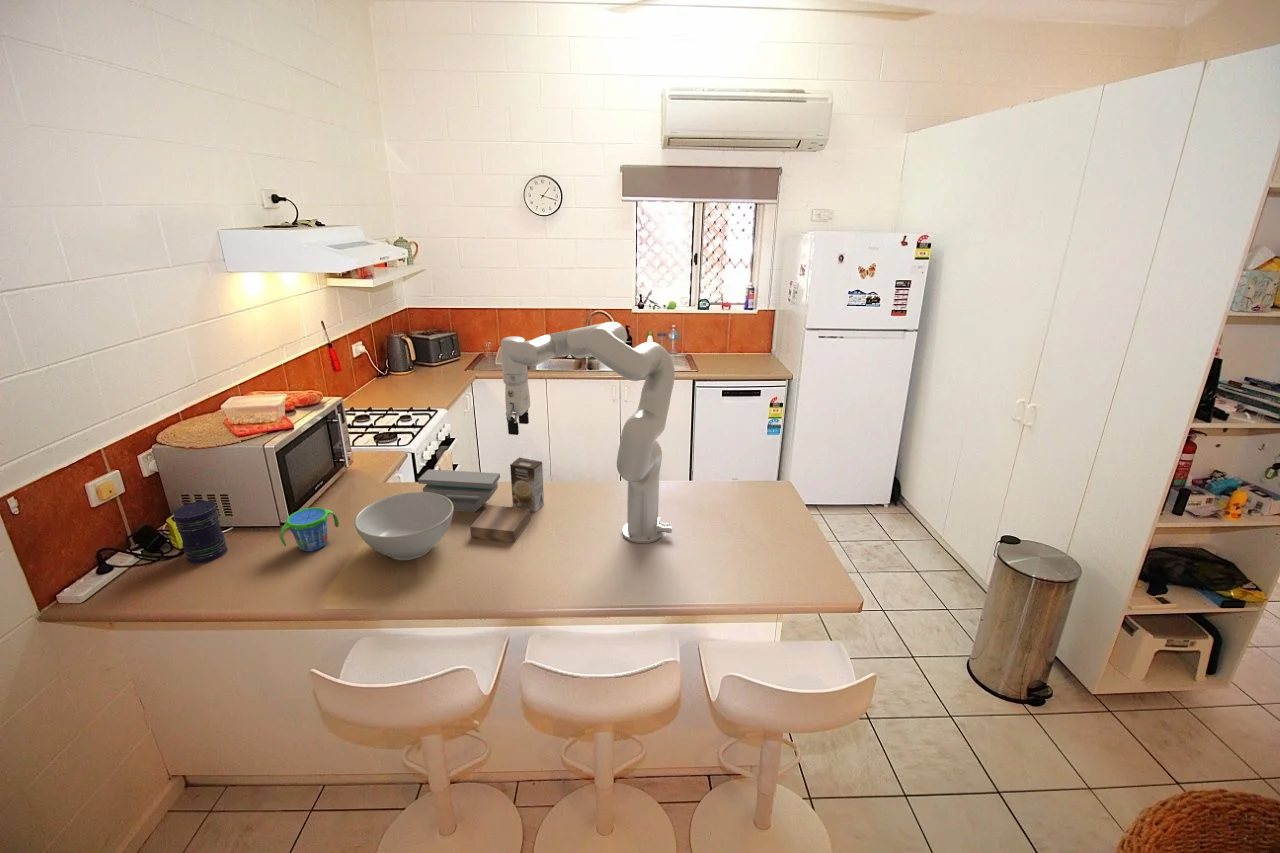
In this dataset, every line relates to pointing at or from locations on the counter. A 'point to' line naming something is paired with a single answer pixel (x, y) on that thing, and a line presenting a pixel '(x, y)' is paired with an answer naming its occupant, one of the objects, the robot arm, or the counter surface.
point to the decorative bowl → (405, 523)
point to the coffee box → (527, 484)
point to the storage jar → (200, 532)
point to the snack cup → (309, 528)
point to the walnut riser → (500, 523)
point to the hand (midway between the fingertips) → (518, 428)
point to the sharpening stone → (461, 487)
